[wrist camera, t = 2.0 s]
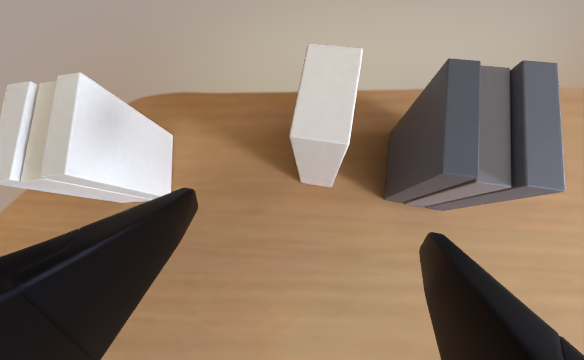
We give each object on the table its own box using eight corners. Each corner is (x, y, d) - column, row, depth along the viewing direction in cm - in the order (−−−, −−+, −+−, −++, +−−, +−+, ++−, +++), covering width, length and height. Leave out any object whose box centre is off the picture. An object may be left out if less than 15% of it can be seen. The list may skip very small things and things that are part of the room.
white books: (171, 198, 23) (65, 174, 13) (122, 203, 23) (-17, 184, 13) (173, 135, 24) (80, 71, 15) (127, 141, 25) (7, 82, 15)
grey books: (444, 210, 20) (566, 191, 10) (383, 200, 21) (444, 173, 11) (447, 138, 21) (558, 62, 12) (390, 131, 22) (450, 53, 12)
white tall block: (331, 187, 21) (349, 144, 11) (300, 182, 22) (288, 136, 11) (339, 134, 23) (363, 47, 12) (310, 130, 23) (307, 42, 12)
